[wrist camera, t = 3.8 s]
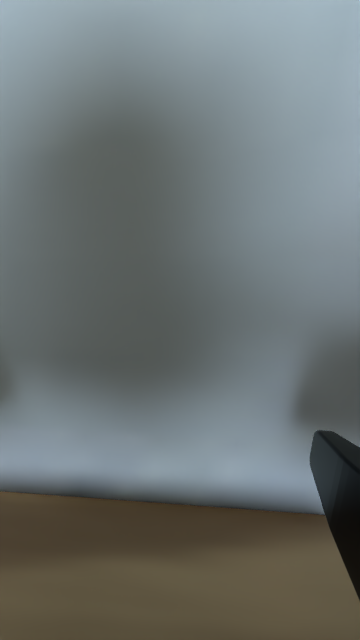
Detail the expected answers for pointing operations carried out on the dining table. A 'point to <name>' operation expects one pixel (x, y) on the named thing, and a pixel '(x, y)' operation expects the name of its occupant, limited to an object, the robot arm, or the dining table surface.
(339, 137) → the dining table surface
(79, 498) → the t block
